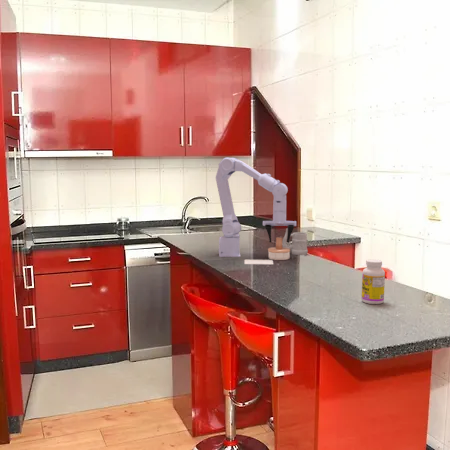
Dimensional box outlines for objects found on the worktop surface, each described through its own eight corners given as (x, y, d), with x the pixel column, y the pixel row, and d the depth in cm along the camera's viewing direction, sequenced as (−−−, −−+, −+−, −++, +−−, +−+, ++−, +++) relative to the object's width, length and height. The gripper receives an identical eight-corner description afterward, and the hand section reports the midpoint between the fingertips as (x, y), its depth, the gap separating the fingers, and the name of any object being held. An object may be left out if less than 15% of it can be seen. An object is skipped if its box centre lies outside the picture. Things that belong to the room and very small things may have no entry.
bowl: (268, 260, 238) (269, 252, 238) (268, 256, 247) (268, 249, 246) (289, 260, 238) (290, 252, 237) (288, 257, 246) (288, 249, 246)
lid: (267, 252, 237) (267, 238, 236) (268, 249, 246) (268, 235, 246) (290, 253, 236) (290, 239, 235) (290, 249, 245) (290, 236, 245)
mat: (244, 264, 228) (244, 263, 228) (244, 260, 238) (244, 259, 238) (273, 265, 227) (273, 264, 227) (272, 260, 237) (272, 259, 237)
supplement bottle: (358, 299, 172) (359, 258, 171) (379, 299, 173) (380, 258, 171) (365, 304, 166) (367, 262, 164) (387, 304, 166) (388, 262, 165)
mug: (309, 255, 251) (310, 229, 249) (284, 256, 249) (284, 229, 248) (305, 252, 258) (305, 227, 257) (280, 253, 257) (281, 227, 256)
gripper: (263, 211, 236) (262, 243, 238) (297, 212, 235) (296, 243, 237) (262, 210, 243) (262, 240, 245) (295, 210, 242) (295, 241, 244)
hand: (279, 242), depth 241 cm, fingers open, 7 cm apart
